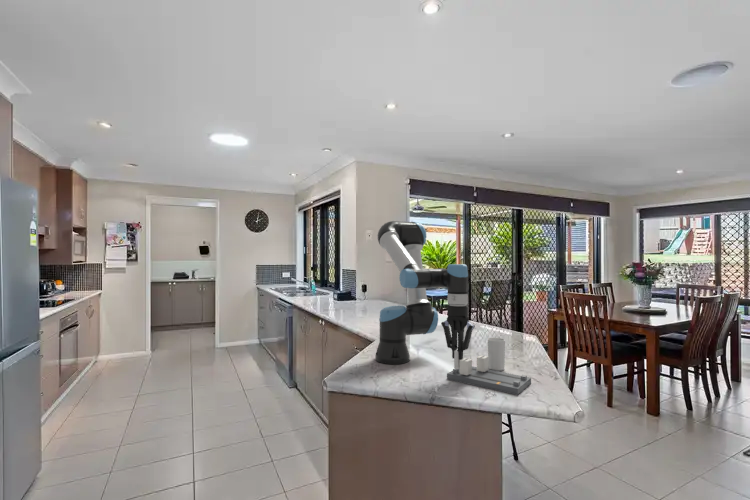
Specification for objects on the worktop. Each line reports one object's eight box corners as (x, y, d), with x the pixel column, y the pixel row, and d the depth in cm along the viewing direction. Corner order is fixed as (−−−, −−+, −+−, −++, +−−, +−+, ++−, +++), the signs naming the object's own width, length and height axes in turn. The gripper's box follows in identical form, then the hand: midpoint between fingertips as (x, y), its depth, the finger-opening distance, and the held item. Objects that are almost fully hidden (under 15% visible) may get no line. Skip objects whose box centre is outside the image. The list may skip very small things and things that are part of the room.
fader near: (459, 373, 139) (459, 359, 139) (464, 371, 142) (464, 357, 142) (467, 375, 137) (467, 361, 137) (471, 372, 140) (471, 359, 140)
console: (446, 378, 140) (446, 370, 141) (464, 369, 152) (464, 361, 152) (517, 394, 124) (517, 385, 125) (531, 383, 136) (531, 374, 136)
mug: (505, 371, 150) (505, 341, 150) (487, 370, 152) (487, 340, 152) (504, 365, 160) (504, 336, 160) (488, 363, 162) (488, 335, 162)
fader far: (476, 370, 143) (476, 357, 143) (480, 368, 146) (480, 354, 147) (484, 372, 141) (484, 358, 142) (488, 369, 145) (488, 356, 145)
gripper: (437, 304, 143) (437, 366, 143) (469, 307, 135) (469, 373, 134) (446, 302, 149) (446, 362, 148) (478, 305, 141) (478, 368, 140)
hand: (457, 367), depth 141 cm, fingers closed
